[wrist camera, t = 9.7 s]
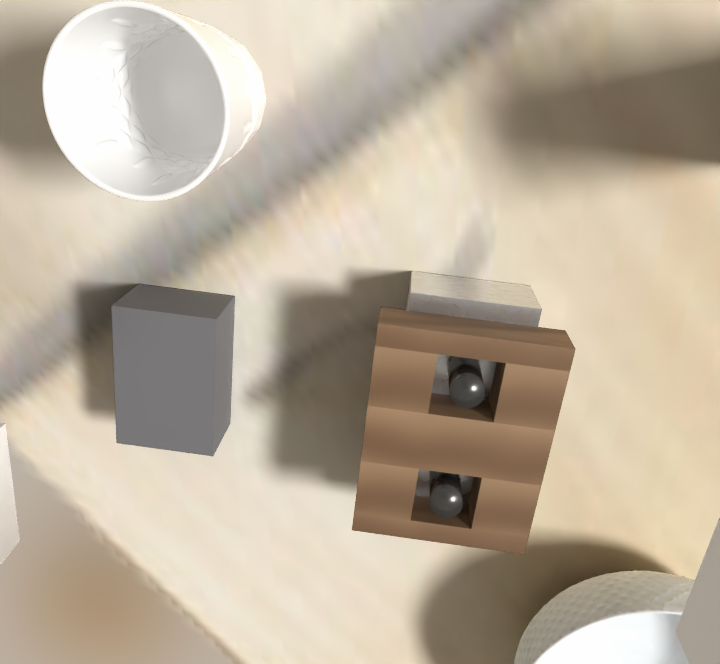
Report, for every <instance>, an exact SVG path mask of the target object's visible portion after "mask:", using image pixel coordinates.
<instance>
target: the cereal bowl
mask: <svg viewBox="0 0 720 664" xmlns="http://www.w3.org/2000/svg"><path fill="white" fill-rule="evenodd" d="M694 582H695V581H694V580H691V579H688V578H685V577H684V576H677V575H674V574H669V573H661V572H658V571H657V572H654V571H636V570H634V571H625V572H624V571H620V572H614V573H606V574H604V575H599V576H597V577H592V578H590V579H586V580H584V581H582V582H579V583H578V584H576V585H572V586H570V587H569V588H567V589H566V590H564V591H562V592H560V593H559V594H558V595H556V596H555V597H554V598H553V599H551V600H550V601H549V602H548V603H547V604H546V605H544V606H543V607H542V608H541V609H540V611H539V612H538V613H537V614H536V615H535V616H534V617H533V619H532V620H531V621H530V622H529V624H528V626H527V628H526V629H525V631H524V632H523V636H522V637H521V639H520V642H519V646H518V648H517V651H516V657H515V659H514V664H689V662H688V660H687V657H686V655H685V653H684V651H683V648H682V646H681V644H680V641H679V639H678V637H677V635H676V632H675V631H676V628H677V626H678V623H679V621H680V618H681V615H682V613H683V610H684V608H685V605H686V603H687V600H688V597H689V595H690V592H691V590H692V587H693V585H694Z"/></svg>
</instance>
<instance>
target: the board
mask: <svg viewBox="0 0 720 664" xmlns="http://www.w3.org/2000/svg"><path fill="white" fill-rule="evenodd" d="M574 353H575V347H574V346H573V344H572V342H571V340H570V338H569V336H568V334H567V333H566V331H565V330H557V329H549V328H541V327H533V326H526V325H518V324H510V323H502V322H494V321H487V320H479V319H471V318H463V317H455V316H448V315H440V314H432V313H424V312H416V311H409V310H401V309H393V308H385V307H380V313H379V319H378V326H377V334H376V342H375V350H374V358H373V366H372V374H371V382H370V390H369V398H368V406H367V414H366V422H365V430H364V438H363V446H362V454H361V462H360V470H359V478H358V486H357V494H356V502H355V510H354V518H353V526H352V530H354V531H361V532H369V533H376V534H383V535H390V536H397V537H404V538H411V539H418V540H425V541H433V542H440V543H447V544H454V545H461V546H468V547H475V548H482V549H489V550H496V551H504V552H511V553H518V554H524V553H525V549H526V545H527V541H528V537H529V533H530V529H531V525H532V521H533V517H534V513H535V509H536V505H537V501H538V497H539V493H540V489H541V485H542V481H543V477H544V473H545V469H546V465H547V461H548V457H549V453H550V449H551V445H552V441H553V437H554V433H555V429H556V425H557V421H558V417H559V413H560V409H561V405H562V401H563V397H564V393H565V389H566V385H567V381H568V377H569V373H570V369H571V365H572V361H573V357H574ZM438 354H440V355H448V356H455V357H463V358H471V359H478V360H486V361H494V362H497V364H496V369H495V374H494V379H493V384H492V389H491V394H490V399H489V400H482V402H481V403H480V404H479V405H477V406H475V407H473V408H461V407H459V406H457V405H456V404H454V403H453V401H452V400H451V398H450V395H444V394H436V393H432V387H433V380H434V374H435V368H436V362H437V356H438ZM419 469H422V470H430V471H437V472H444V473H452V474H459V475H466V476H473V477H474V478H473V483H472V487H471V492H470V497H469V502H463V507H462V510H461V511H460V513H459V514H457V515H456V516H454V517H451V518H443V517H439V516H437V515H436V514H434V513H433V511H432V510H431V508H430V497H426V496H419V495H415V490H416V484H417V478H418V471H419Z"/></svg>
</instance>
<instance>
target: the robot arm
mask: <svg viewBox="0 0 720 664" xmlns="http://www.w3.org/2000/svg"><path fill="white" fill-rule="evenodd" d="M19 541H20V538H19V530H18V523H17V514H16V507H15V498H14V490H13V483H12V474H11V466H10V459H9V450H8V442H7V434H6V426H5V423H0V565H1V563H2V562H3V561H4V560H5V559H6V557H7V556H8V555H9V554H10V552H11V551H12V550H13V549H14V547H15V546H16V545H17V544H18V542H19ZM675 632H676V635H677V637H678V639H679V641H680V644H681V646H682V648H683V651H684V653H685V655H686V657H687V660H688V662H689V664H720V518H719V520H718V523H717V525H716V528H715V530H714V533H713V536H712V538H711V541H710V543H709V546H708V548H707V551H706V554H705V556H704V559H703V561H702V564H701V566H700V569H699V572H698V574H697V577H696V579H695V582H694V585H693V587H692V590H691V592H690V595H689V597H688V600H687V603H686V605H685V608H684V610H683V613H682V615H681V618H680V621H679V623H678V626H677V628H676V631H675Z"/></svg>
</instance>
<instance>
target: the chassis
mask: <svg viewBox="0 0 720 664" xmlns="http://www.w3.org/2000/svg"><path fill="white" fill-rule="evenodd" d="M406 310H409V311H416V312H424V313H432V314H440V315H448V316H455V317H463V318H471V319H479V320H487V321H494V322H502V323H510V324H518V325H526V326H533V327H538V324H539V319H540V315H541V310H542V309H541V307H540V305H539V303H538V300H537V298H536V296H535V294H534V292H533V290H532V288H531V286H528V285H520V284H512V283H504V282H496V281H488V280H480V279H472V278H464V277H456V276H448V275H440V274H432V273H424V272H417V271H412V272H411V279H410V286H409V293H408V300H407V308H406ZM496 364H497V362H494V361H486V360H478V359H471V358H463V357H455V356H448V355H440V354H438V356H437V362H436V368H435V374H434V380H433V387H432V393H436V394H444V395H450V398H451V400H452V401H453V403H454V404H456V405H457V406H459V407H461V408H473V407H475V406H477V405H479V404H480V403H481V402H482V400H489V399H490V394H491V389H492V384H493V379H494V374H495V369H496ZM473 478H474V477H473V476H466V475H459V474H452V473H444V472H437V471H430V470H422V469H419V471H418V478H417V484H416V490H415V495H419V496H426V497H430V508H431V510H432V511H433V513H434V514H436V515H437V516H439V517H443V518H451V517H454V516H456V515H457V514H459V513H460V511H461V510H462V507H463V502H469V497H470V492H471V487H472V483H473Z"/></svg>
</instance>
